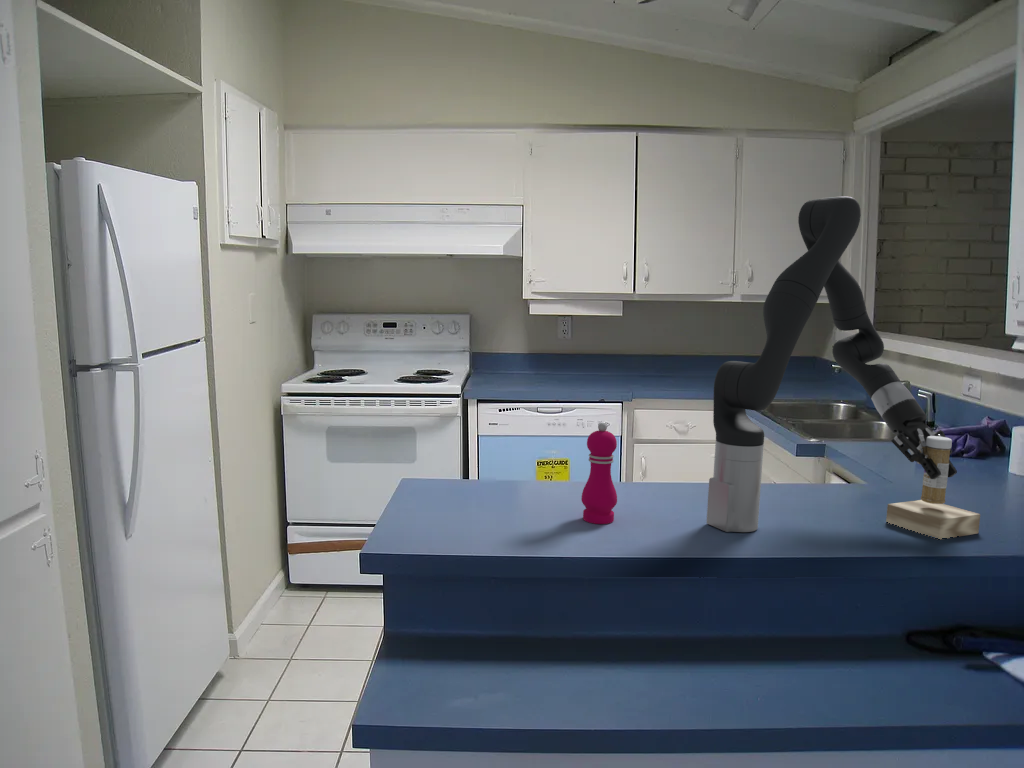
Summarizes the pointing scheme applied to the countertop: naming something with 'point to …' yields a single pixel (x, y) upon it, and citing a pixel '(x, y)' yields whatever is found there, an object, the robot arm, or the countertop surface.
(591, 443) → the pepper mill
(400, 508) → the countertop surface
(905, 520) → the wooden riser
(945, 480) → the sprinkles bottle
